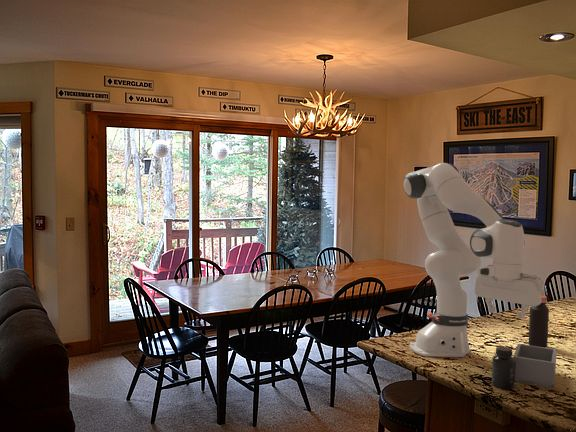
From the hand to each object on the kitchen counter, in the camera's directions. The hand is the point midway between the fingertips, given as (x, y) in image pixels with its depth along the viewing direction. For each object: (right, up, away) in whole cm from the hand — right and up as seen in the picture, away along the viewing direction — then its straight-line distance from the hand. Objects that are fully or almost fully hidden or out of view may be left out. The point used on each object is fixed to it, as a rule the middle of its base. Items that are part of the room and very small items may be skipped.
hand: (506, 315), depth 162 cm
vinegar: (+31, -21, +43) cm, 56 cm away
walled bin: (+14, -22, +10) cm, 28 cm away
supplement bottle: (0, -23, +1) cm, 23 cm away
